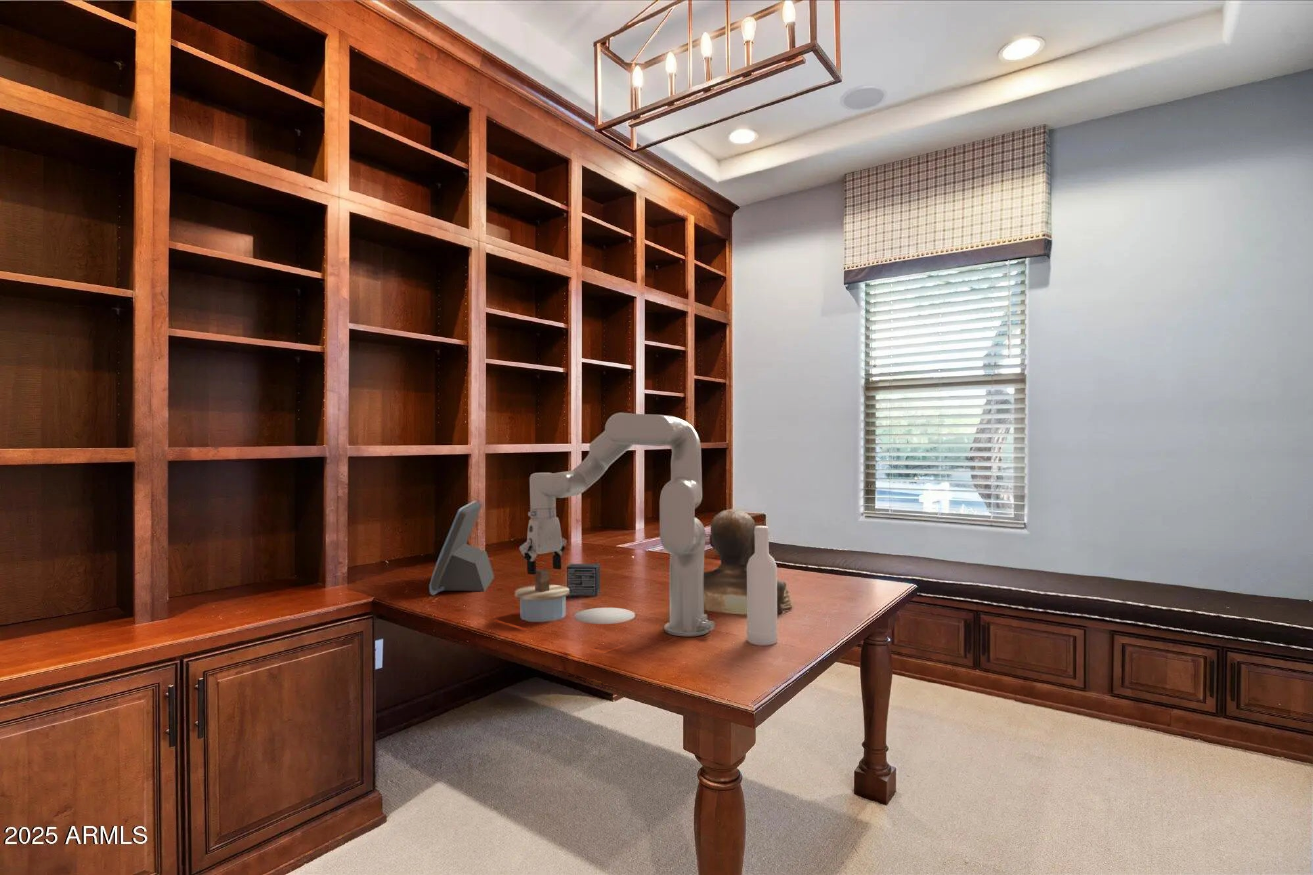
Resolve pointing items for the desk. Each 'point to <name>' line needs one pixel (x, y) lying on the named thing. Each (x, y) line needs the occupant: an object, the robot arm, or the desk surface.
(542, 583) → the lid
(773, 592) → the bottle
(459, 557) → the touchscreen device
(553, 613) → the bowl
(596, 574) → the small box
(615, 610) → the mat
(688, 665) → the desk surface
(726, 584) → the portrait bust
